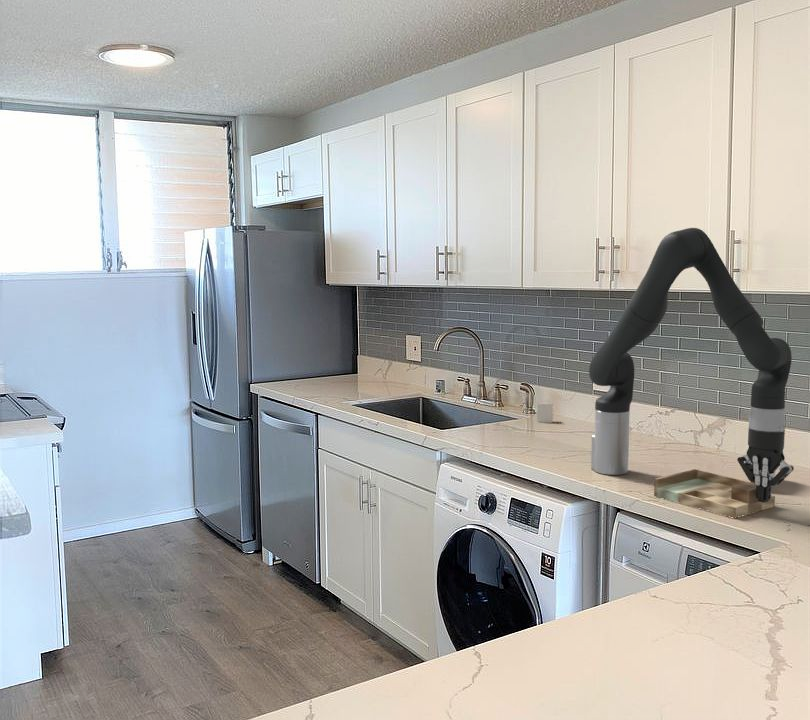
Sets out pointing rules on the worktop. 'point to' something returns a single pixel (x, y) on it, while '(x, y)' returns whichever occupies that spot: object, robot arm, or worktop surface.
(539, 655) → the worktop surface
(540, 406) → the grey square slab
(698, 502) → the tray
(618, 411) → the robot arm
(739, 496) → the block
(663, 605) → the worktop surface
